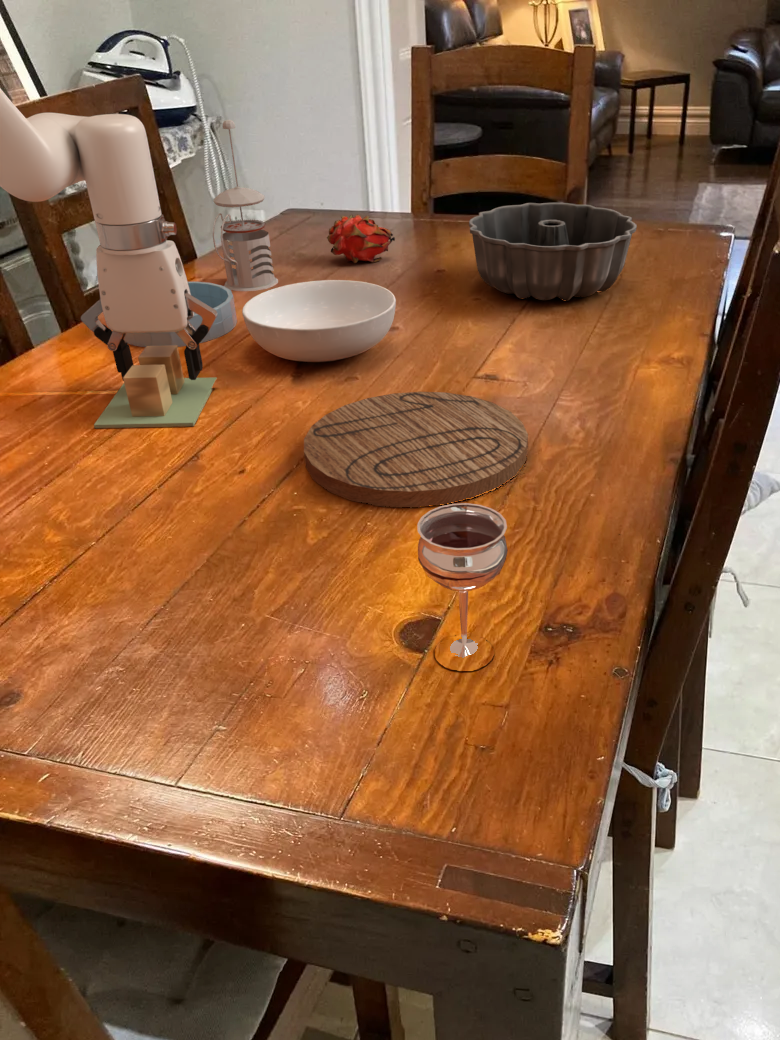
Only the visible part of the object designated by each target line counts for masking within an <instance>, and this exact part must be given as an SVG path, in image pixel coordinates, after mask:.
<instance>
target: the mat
mask: <svg viewBox="0 0 780 1040" xmlns="http://www.w3.org/2000/svg"><path fill="white" fill-rule="evenodd" d="M217 379H218V378H217V377H215V376H213V377H211V376H210V377H209V376H208V377H197V378H196V380H191V379H189V377H184V381H185V382H184V384H183V386H182V387H181V389H180V391H179V392H178V394H171V397H172V402H173V403H172V404H171V406H170V408H169V409H168V411H167V413H166V415H165V416H140V417H132V413H131V409H130V405H129V401H128V397H127V392H126V388H125V384H124V383H122V384H121V386H120V388H119V389H118V391H117V392H116V393H115V394H114V396H113V397H112V398H111V400H110V401H109V403H108V405H107V406H106V407H105V409H104V410H103V411H102V413H101V414H100V416H99V417H98V418H97V420H96V421H95V422H94V424H93V428H94V429H129V428H133V429H134V428H135V429H136V428H175V427H179V428H180V427H182V428H183V427H194V426H195V425H196V423H197V422H198V419H199V417H200V415H201V413H202V412H203V409H204V408H205V405H206V404H207V401H208V400H209V398H210V396H211V394H212V393H213V390H214V387H213V386H214V384H215V382H216V381H217Z"/></svg>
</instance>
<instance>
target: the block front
mask: <svg viewBox="0 0 780 1040" xmlns="http://www.w3.org/2000/svg"><path fill="white" fill-rule="evenodd" d="M123 380H124V381H123ZM122 381H123V384H125V388H126V392H127V397H128V401H129V405H130V409H131V413H132V417H140V416H165V415H166V413H167V411H168V409H169V408H170V406H171V404H172V403H173V402H172V397H171V393H170V388H169V383H168V378H167V374H166V369H165V365H140V364H133V365H132V366H131V368H130V369H129V371H128V372H127V373H126V375H125V376H124V377H123V379H122Z"/></svg>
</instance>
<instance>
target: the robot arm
mask: <svg viewBox="0 0 780 1040" xmlns="http://www.w3.org/2000/svg"><path fill="white" fill-rule="evenodd" d="M84 181H85V184H86V189H87V194H88V197H89V202H90V207H91V210H92V215H93V219H94V223H95V227H96V228H95V229H96V232H97V236H98V240H99V245H98V246H97V247H96V249H95V251H96V253H95V255H96V258H95V260H96V273H97V285H98V292H99V299H98V300H97V301H96V302H95V303H94V304H93V305H92V306H90V307H89V308H88V309H87V310H86V311H84V313H82V315H81V316H80V321H81V322H82V323H83V324H84V325H85V327H87V328H88V329H89V330H90V331H92V332H93V335H94V336H95V337H96V338H97V339H98V340H99V341H101V342H102V343H103V344H104V345H106V347H107V349H108V350H109V351H111V352H112V354H113V358H114V362H115V367H116V371H117V373H119V374H120V375H121V380H122V381H123V382H124V380H123V377H124V376H125V375H126V373H127V372H128V371H129V369H130V368H131V366H132V365H134V361H133V357H132V352H131V348H130V344H128V343H125V341H124V338H125V335H126V333H149V332H175V333H176V334H177V335H178V336H179V337H180V339H181V340H182V341H183V342H184V343H185V344H186V346H185V349H184V350H183V354H184V359H185V365H186V370H187V375H188V378H189V379H191V380H196V378H198V377H199V375H200V373H201V372H202V371H203V368H204V363H203V357H202V353H201V348H200V344H201V343H200V342H201V341H202V340H203V338H204V337H205V336H206V335H207V333H208V332H209V330H210V328H211V326H212V324H213V322H214V321H215V319H216V317H217V314H218V313H217V311H216V310H215V309H213V308H211V307H210V306H208V305H206V304H205V303H203V302H201V301H200V300H198V299H196V298H195V297H193V296H192V295H191V293H190V289H189V285H188V282H189V281H188V279H187V278H188V277H187V275H186V271H185V268H184V264H183V262H182V259H181V256H180V253H179V250H178V248H177V246H176V243H175V242H174V241H173V240H168V237H171V236H176V235H177V234H178V227H177V223H175V222H169V221H166V218H165V216H164V214H162V209H161V204H160V200H159V199H160V198H159V193H158V187H157V182H156V177H155V172H154V167H153V161H152V156H151V152H150V146H149V141H148V136H147V132H146V128H145V125H144V124H143V122H142V121H141V120H140V119H139V118H138V117H136V116H134V115H131V114H124V113H107V114H97V115H92V116H83V115H73V114H66V113H58V112H40V113H36V114H33V115H31V116H29V117H25V115H24V114H23V113H22V112H21V111H20V109H18V107H17V106H16V105H15V104H14V103H13V102H12V101H11V99H10V98H9V97H8V96H7V95H6V93H5V92H4V90H3V89H2V88H1V87H0V188H1V189H3V190H4V191H6V192H7V193H8V194H10V195H11V196H13V197H15V198H17V199H19V200H23V201H26V202H31V203H32V202H33V203H40V202H45V201H47V200H51V198H53V197H55V196H57V195H58V194H59V193H61V192H62V191H64V190H65V189H66V188H68V187H71V186H73V185H75V184H77V183H79V182H84ZM194 312H195V313H196V314H198V315H200V316H201V317H202V322H201V324H200V326H199V327H198V328H197V330H196V329H195V328H194V327H193V325H192V324H191V323H190V322H189V321H188V320H190V319H192V318H193V316H194ZM101 314H103V318H104V321H105V324H106V325H105V324H103V323H102V322H101V320H100V319H99V316H100V315H101Z"/></svg>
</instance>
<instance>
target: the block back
mask: <svg viewBox="0 0 780 1040" xmlns="http://www.w3.org/2000/svg"><path fill="white" fill-rule="evenodd" d="M137 359H138V365H165V369H166V374H167V378H168V383H169V388H170V393H171V394H178V392H179V391H180V389H181V387H182V386H183V384H184V382H185V381H184V378H185V377H184V372H183V366H182V362H181V356H180V351H179V347H178V346H177V345H169V346H146V347H144V348H143V350H142V352H141V353H140V354H139V355H138V357H137Z"/></svg>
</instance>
